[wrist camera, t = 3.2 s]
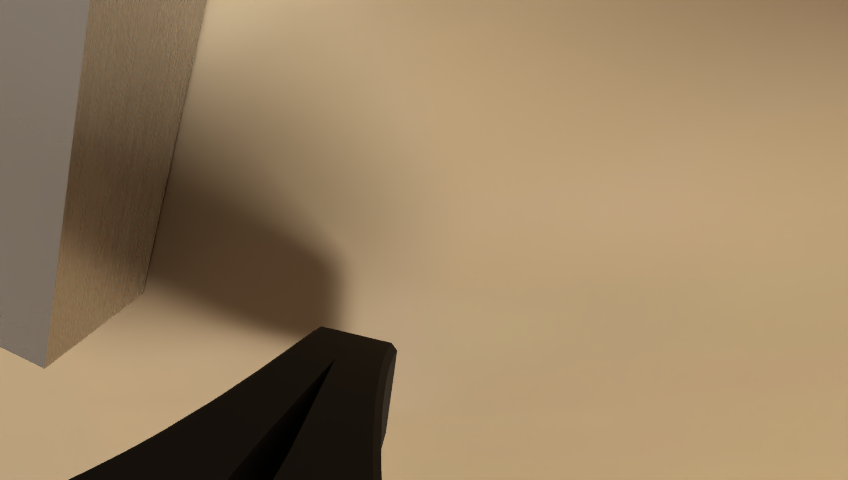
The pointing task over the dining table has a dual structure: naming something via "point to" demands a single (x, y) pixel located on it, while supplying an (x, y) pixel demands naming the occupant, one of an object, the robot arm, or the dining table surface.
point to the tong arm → (84, 158)
